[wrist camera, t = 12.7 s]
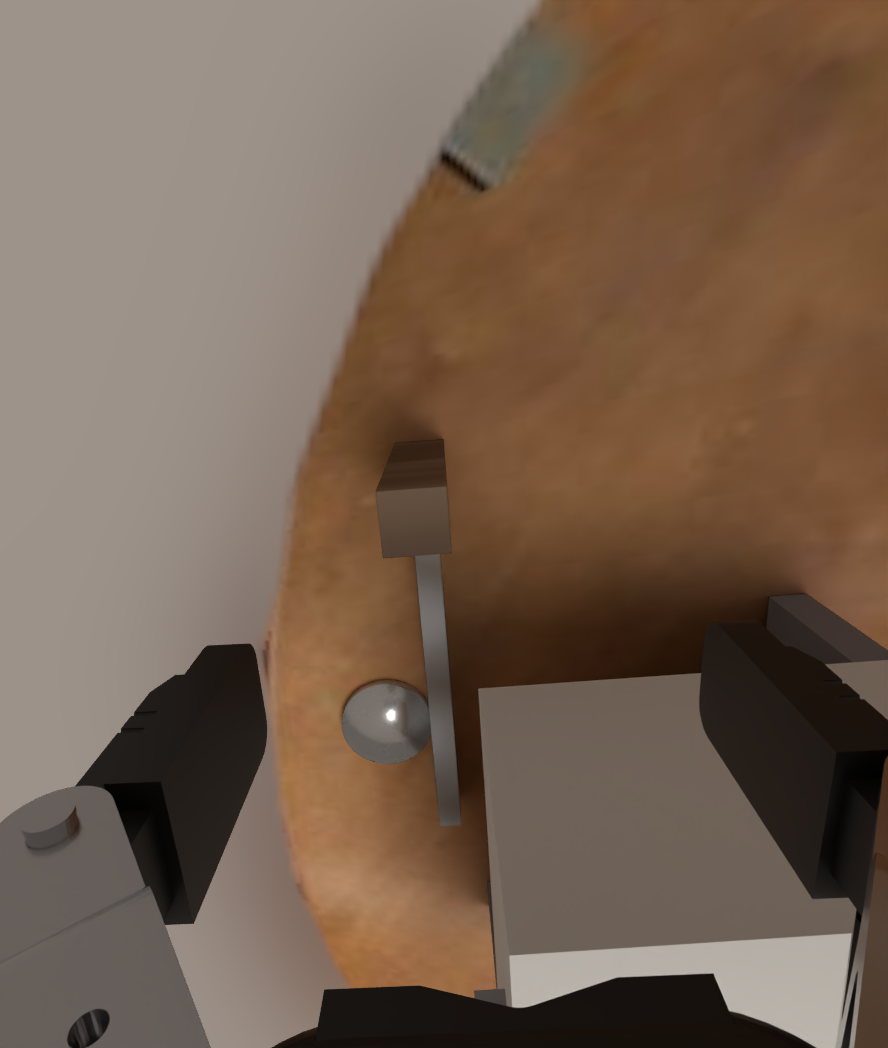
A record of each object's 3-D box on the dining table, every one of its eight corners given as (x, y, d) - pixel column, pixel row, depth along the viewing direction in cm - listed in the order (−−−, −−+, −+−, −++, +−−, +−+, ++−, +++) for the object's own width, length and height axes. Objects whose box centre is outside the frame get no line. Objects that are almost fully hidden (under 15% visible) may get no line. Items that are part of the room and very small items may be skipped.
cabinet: (451, 619, 33) (468, 958, 15) (806, 593, 33) (1255, 907, 15) (473, 908, 39) (504, 1404, 21) (775, 888, 39) (1072, 1372, 21)
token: (340, 678, 35) (337, 687, 34) (430, 674, 35) (429, 684, 34) (348, 754, 36) (345, 765, 35) (434, 750, 36) (433, 761, 35)
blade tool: (395, 442, 31) (375, 491, 21) (443, 439, 31) (446, 486, 21) (429, 801, 37) (427, 965, 27) (470, 798, 37) (482, 962, 27)
